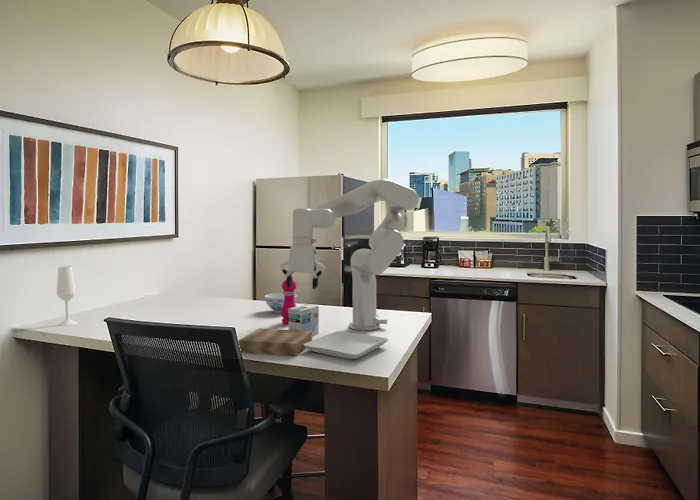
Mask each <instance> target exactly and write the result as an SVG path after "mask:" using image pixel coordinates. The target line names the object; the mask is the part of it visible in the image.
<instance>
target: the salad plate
mask: <svg viewBox="0 0 700 500" xmlns="http://www.w3.org/2000/svg"><path fill="white" fill-rule="evenodd" d="M388 341H389V338H388V337H381V336H377V335H376V336H375V335H369V334H363V333H356V332H348V331H341V330H339V331H334V332H331V333H329V334H326V335H323V336H320V337H318V338H315V339H312V341H310V342H308V343H305V344H303V345H304V347H305V349H307V350H309V351H310V352H313V353H317V354H322V355H326V356H332V357H336V358H341V359H342V358H343V359H348V360H356V359H359V358H360V357H361V358H362V356H365V355H368V353H370V352H373V351H374V350H376V349H378V348H381V347H382V346H383V345H385V344H386V343H387V342H388Z"/></svg>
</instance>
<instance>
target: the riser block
mask: <svg viewBox="0 0 700 500" xmlns="http://www.w3.org/2000/svg"><path fill="white" fill-rule="evenodd" d="M310 341H313V336H312V331H297V330H289V329H277V328H275V329H274V328H261V327H260V328H258V329H256V330H254V331H252V332H250V333H249V334H247V335H245V336H243V337H242V338H240V339H238V346H239V345H240V349H241V352H240V353H248V354H257V355H258V354H260V355H263V354H264V355H272V356H273V355H274V356H275V355H276V356H291V357H298V356H299V355H300V354H301V353H302V352H303V351H304V350H305V349H306V348H305V347H304V345H303V344H305V343H308V342H310Z"/></svg>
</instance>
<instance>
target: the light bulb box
mask: <svg viewBox="0 0 700 500" xmlns="http://www.w3.org/2000/svg"><path fill="white" fill-rule="evenodd" d="M319 317H320V316H319V305H314V304H309V303H308V304H307V303H305V304H300V305H296V307H293V308H289V309H288V323H289V325H288V330H297V331H312V337H313V336H315V335H318V334H319V331H320V330H319V323H320V322H319V321H320V320H319Z"/></svg>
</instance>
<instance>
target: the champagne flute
mask: <svg viewBox="0 0 700 500" xmlns="http://www.w3.org/2000/svg"><path fill="white" fill-rule="evenodd" d="M74 277H75V276H74V270H73V266H70V265H67V266H66V265H63V266H58V267H57V283H56V284H57V285H56V286H57V287H56V295H57V297H58V298H59V299H61V300H62V301H63V302H64V303H65V306H64V307H65V309H64V311H65V319H64V320H63V321H61V322H60V323H59V324H58V326H60V327H66V326H67V327H68V326H73V325H77V324H78V322H77V321H74V320H71V319H70V308H69V307H70V305H69V301H70V300H72V299H73V298H74V297H75V296H76V294H77V291H76V284H75V279H74Z"/></svg>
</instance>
